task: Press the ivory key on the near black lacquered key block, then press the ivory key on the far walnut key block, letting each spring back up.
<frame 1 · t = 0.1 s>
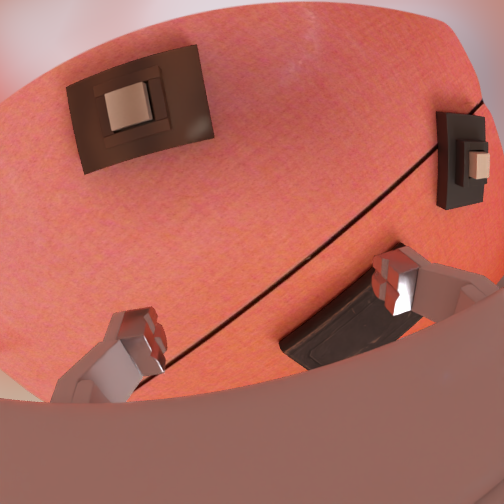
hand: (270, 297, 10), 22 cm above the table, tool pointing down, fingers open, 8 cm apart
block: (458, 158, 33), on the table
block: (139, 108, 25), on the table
hardcover book: (361, 319, 43), on the table
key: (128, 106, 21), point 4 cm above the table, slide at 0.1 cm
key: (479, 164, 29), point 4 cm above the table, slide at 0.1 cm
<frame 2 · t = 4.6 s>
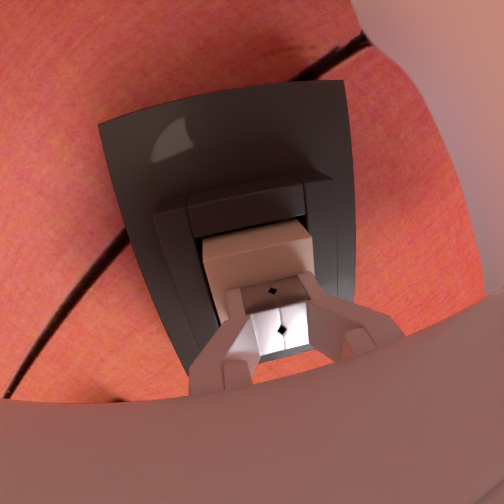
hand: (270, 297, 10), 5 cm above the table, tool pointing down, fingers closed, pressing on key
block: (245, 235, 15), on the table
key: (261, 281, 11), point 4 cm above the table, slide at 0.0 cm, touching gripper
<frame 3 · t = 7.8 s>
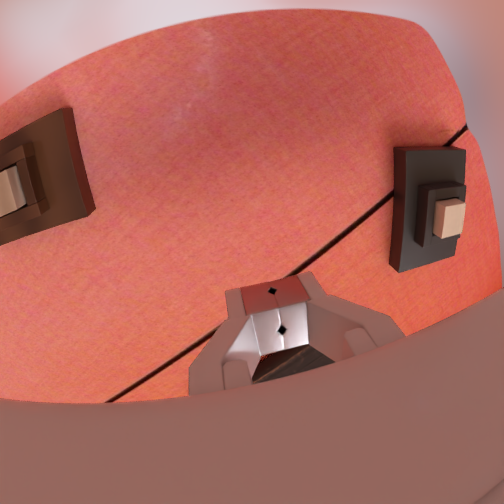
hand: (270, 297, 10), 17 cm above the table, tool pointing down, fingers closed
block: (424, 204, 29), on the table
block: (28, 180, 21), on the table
hardcover book: (294, 380, 39), on the table
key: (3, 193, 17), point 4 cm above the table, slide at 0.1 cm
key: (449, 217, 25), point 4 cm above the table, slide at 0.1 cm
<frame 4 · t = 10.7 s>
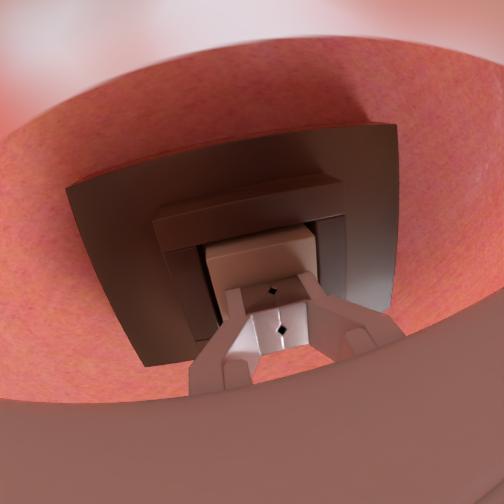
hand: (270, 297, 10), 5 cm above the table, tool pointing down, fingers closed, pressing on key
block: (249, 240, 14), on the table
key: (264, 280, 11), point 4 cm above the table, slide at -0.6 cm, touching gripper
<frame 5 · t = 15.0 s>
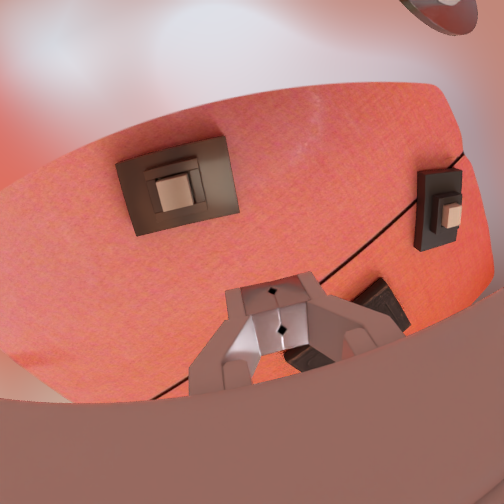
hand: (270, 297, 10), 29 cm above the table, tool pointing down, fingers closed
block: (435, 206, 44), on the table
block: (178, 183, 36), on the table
hardcover book: (349, 335, 53), on the table
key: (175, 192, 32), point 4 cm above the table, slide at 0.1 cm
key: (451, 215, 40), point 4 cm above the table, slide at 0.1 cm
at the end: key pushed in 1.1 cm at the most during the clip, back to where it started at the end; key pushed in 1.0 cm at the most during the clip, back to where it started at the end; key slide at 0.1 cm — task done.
